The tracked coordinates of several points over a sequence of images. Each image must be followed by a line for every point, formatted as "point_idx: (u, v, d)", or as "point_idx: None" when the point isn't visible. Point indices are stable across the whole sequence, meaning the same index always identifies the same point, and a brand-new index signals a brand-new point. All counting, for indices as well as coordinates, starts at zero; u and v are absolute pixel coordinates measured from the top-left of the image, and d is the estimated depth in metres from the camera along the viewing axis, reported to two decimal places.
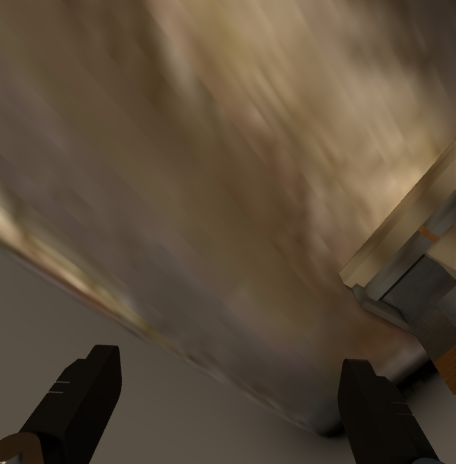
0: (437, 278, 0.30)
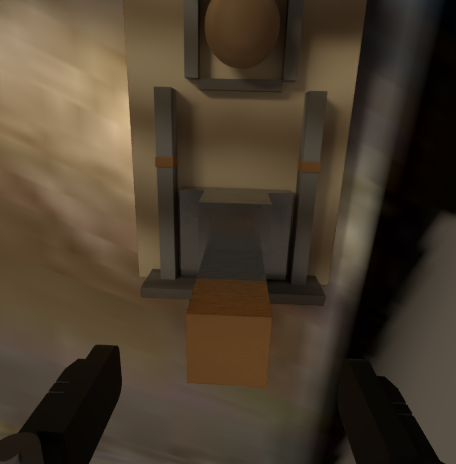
0: None
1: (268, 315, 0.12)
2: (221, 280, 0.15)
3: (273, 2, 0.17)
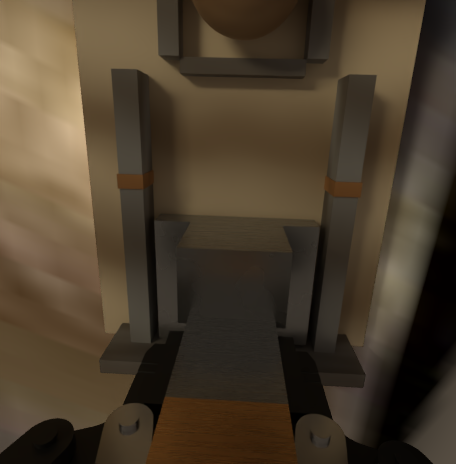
0: None
1: None
2: (208, 404, 0.08)
3: None
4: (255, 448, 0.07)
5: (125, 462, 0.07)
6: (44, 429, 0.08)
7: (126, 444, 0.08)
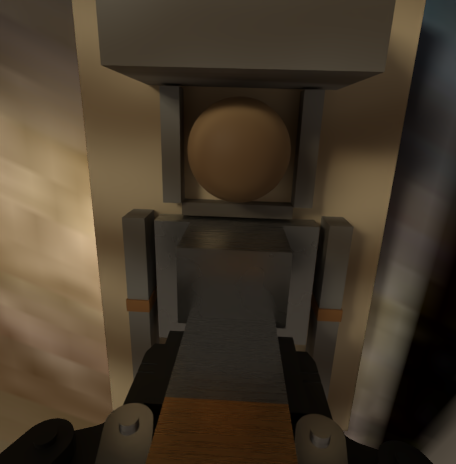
0: None
1: None
2: (208, 405, 0.08)
3: (282, 129, 0.12)
4: (255, 448, 0.07)
5: (125, 462, 0.07)
6: (44, 429, 0.08)
7: (126, 444, 0.08)
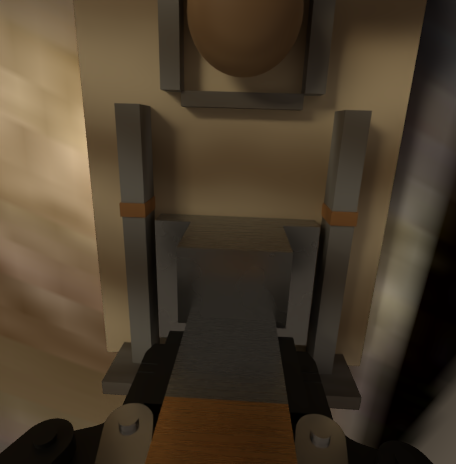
0: None
1: None
2: (208, 404, 0.08)
3: None
4: (255, 448, 0.07)
5: (125, 462, 0.07)
6: (44, 429, 0.08)
7: (126, 444, 0.08)
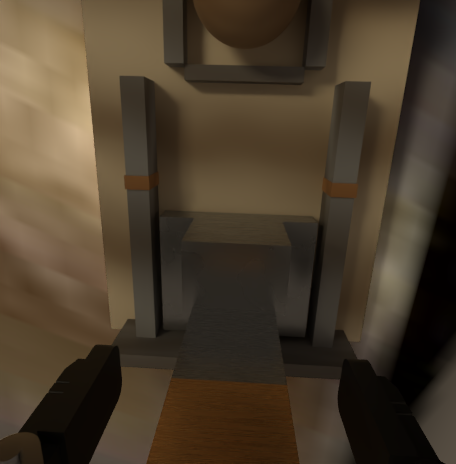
0: None
1: None
2: (212, 385, 0.09)
3: None
4: (256, 422, 0.08)
5: None
6: None
7: None
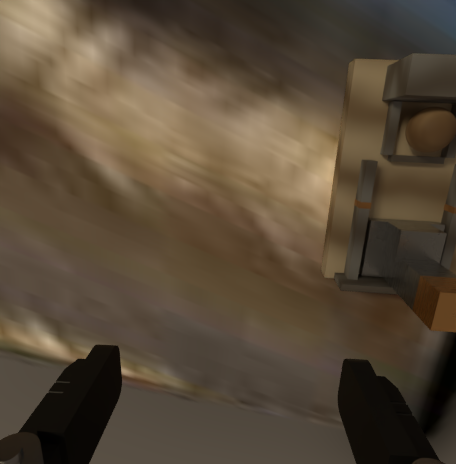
0: (390, 235, 0.32)
1: None
2: (435, 277, 0.27)
3: None
4: None
5: None
6: None
7: None
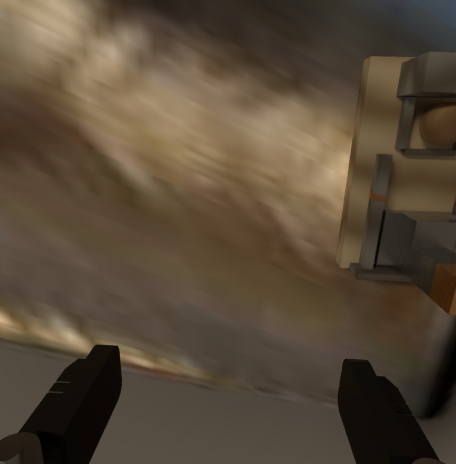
0: (405, 225, 0.34)
1: None
2: (451, 265, 0.28)
3: None
4: None
5: None
6: None
7: None
